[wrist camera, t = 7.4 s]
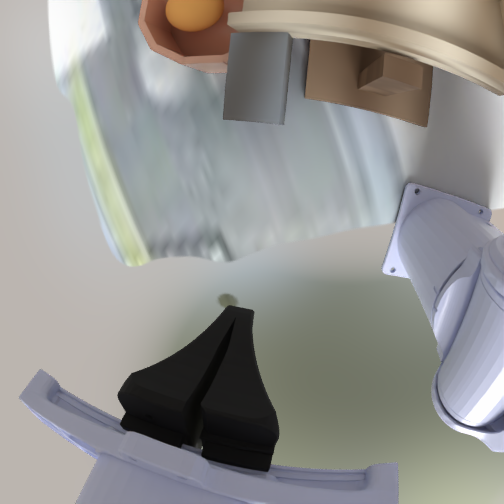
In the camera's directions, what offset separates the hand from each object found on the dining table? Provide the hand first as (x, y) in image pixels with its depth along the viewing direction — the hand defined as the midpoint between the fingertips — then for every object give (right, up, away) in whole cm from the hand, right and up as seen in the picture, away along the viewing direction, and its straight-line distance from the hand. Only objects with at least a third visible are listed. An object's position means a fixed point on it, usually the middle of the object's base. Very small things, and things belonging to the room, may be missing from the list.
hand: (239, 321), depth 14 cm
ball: (-3, +20, -2) cm, 20 cm away
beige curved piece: (+8, +15, -3) cm, 18 cm away
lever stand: (+9, +19, -1) cm, 21 cm away
